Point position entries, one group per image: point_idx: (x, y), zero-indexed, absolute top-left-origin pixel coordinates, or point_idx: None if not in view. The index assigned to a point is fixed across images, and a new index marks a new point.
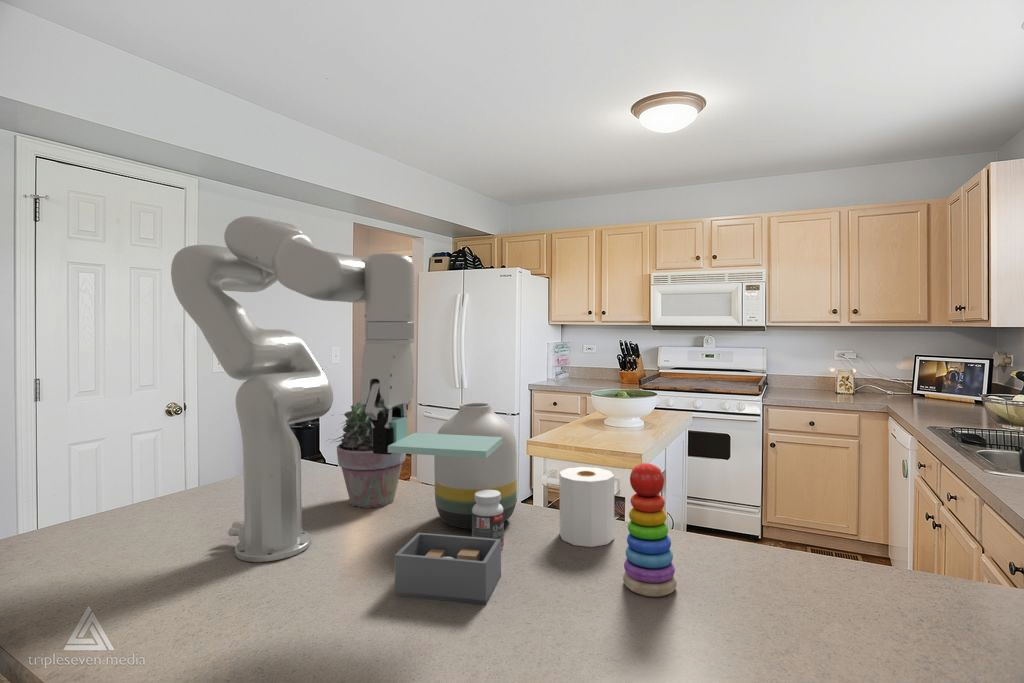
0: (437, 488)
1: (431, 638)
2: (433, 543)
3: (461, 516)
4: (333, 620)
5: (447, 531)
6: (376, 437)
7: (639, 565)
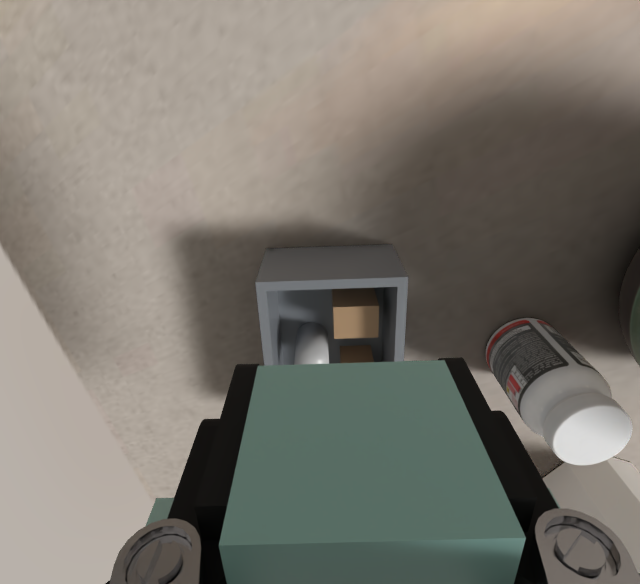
0: None
1: (160, 361)
2: (392, 310)
3: (632, 289)
4: (137, 177)
5: (629, 224)
6: (183, 480)
7: None
